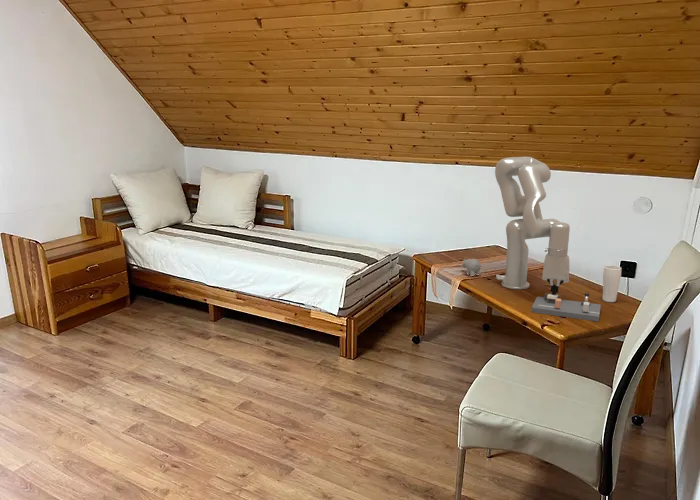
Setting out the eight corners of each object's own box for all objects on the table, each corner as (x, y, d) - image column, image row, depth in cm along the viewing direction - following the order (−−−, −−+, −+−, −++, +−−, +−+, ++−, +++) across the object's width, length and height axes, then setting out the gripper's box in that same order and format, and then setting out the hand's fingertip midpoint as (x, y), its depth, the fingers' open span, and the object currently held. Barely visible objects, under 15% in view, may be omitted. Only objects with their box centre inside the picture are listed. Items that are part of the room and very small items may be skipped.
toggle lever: (583, 302, 220) (584, 291, 221) (583, 303, 222) (584, 292, 223) (588, 303, 220) (589, 292, 220) (588, 304, 221) (589, 292, 222)
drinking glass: (603, 303, 229) (606, 269, 225) (598, 297, 235) (602, 264, 232) (620, 303, 228) (624, 269, 224) (615, 298, 234) (618, 265, 231)
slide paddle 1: (554, 307, 217) (555, 300, 217) (555, 305, 220) (556, 298, 219) (560, 308, 216) (560, 301, 216) (560, 305, 219) (561, 298, 218)
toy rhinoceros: (469, 270, 279) (470, 254, 277) (483, 276, 268) (483, 259, 266) (457, 271, 277) (458, 255, 274) (470, 278, 266) (471, 261, 264)
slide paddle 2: (582, 311, 213) (583, 304, 212) (583, 308, 215) (584, 301, 215) (588, 312, 212) (589, 304, 211) (588, 309, 215) (589, 302, 214)
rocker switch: (546, 298, 224) (547, 295, 224) (548, 295, 230) (549, 293, 230) (556, 299, 222) (556, 296, 222) (557, 297, 229) (557, 294, 228)
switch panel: (531, 312, 220) (532, 300, 219) (536, 300, 233) (537, 290, 232) (598, 321, 209) (599, 310, 208) (600, 309, 222) (601, 298, 221)
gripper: (537, 252, 224) (534, 294, 229) (576, 256, 218) (572, 299, 222) (539, 248, 230) (536, 289, 235) (577, 251, 224) (573, 293, 229)
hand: (554, 294), depth 229 cm, fingers closed
